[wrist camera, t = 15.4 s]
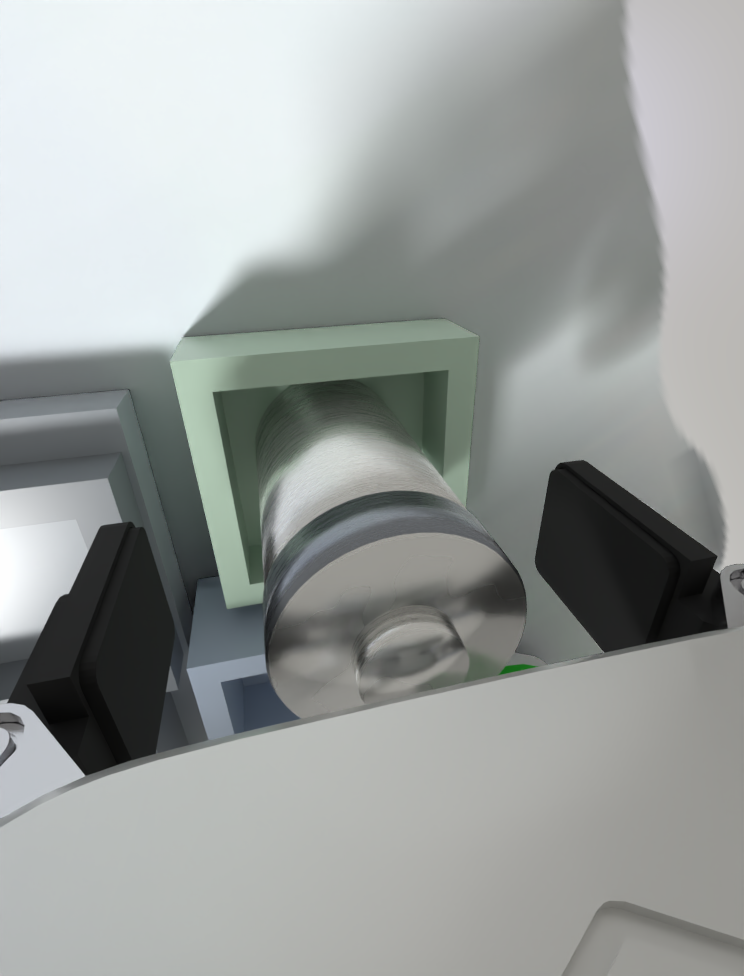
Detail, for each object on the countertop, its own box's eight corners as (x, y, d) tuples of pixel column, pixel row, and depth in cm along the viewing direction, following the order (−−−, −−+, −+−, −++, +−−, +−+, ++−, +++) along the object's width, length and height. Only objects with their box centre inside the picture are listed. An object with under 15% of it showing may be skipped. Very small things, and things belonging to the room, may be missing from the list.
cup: (368, 663, 21) (391, 748, 18) (227, 691, 20) (223, 788, 17) (363, 553, 18) (390, 629, 15) (197, 579, 17) (186, 669, 14)
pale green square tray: (434, 526, 19) (460, 569, 16) (229, 558, 17) (226, 608, 15) (444, 318, 15) (480, 336, 13) (181, 337, 13) (169, 361, 11)
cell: (397, 497, 17) (529, 732, 9) (264, 516, 16) (286, 794, 8) (396, 366, 15) (569, 534, 7) (242, 381, 14) (244, 590, 6)
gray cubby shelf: (234, 765, 23) (233, 865, 19) (45, 808, 21) (6, 925, 18) (129, 389, 14) (89, 448, 10) (-210, 419, 12) (-390, 500, 9)
